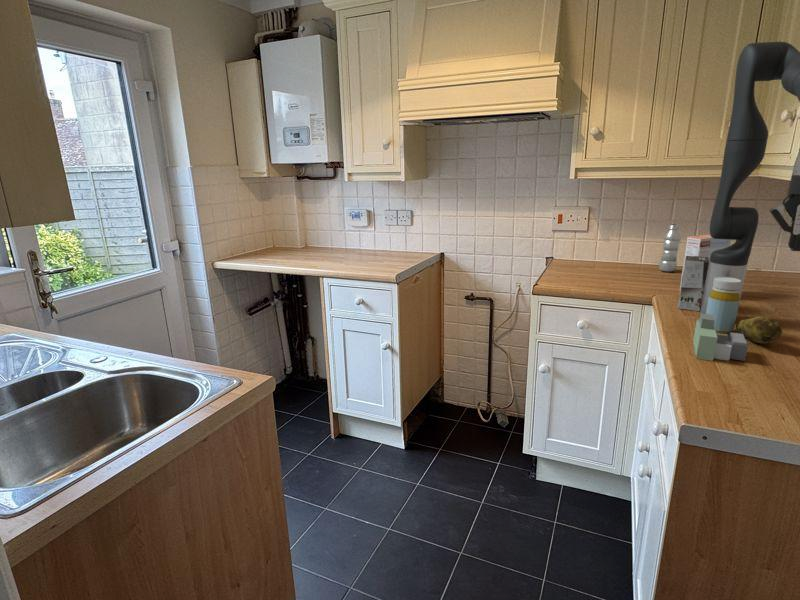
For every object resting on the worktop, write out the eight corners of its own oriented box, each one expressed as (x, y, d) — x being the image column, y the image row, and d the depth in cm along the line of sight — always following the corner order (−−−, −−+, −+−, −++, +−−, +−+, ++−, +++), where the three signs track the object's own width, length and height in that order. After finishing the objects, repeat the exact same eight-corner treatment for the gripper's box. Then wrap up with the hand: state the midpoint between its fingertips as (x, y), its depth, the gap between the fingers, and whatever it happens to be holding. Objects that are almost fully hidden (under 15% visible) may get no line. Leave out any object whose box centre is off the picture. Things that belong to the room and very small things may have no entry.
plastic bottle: (654, 270, 204) (661, 224, 199) (667, 269, 206) (674, 223, 201) (666, 273, 198) (674, 226, 193) (679, 272, 200) (687, 225, 195)
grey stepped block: (710, 345, 122) (713, 329, 121) (740, 349, 119) (743, 333, 118) (713, 356, 115) (716, 339, 114) (744, 360, 113) (748, 344, 111)
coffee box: (700, 311, 150) (709, 261, 145) (677, 308, 153) (685, 259, 148) (700, 304, 157) (709, 256, 152) (678, 301, 160) (686, 254, 156)
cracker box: (706, 289, 174) (717, 233, 168) (721, 294, 168) (733, 235, 162) (677, 293, 170) (686, 235, 164) (691, 297, 164) (702, 238, 158)
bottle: (705, 325, 137) (714, 275, 133) (733, 330, 133) (744, 278, 129) (701, 331, 132) (710, 280, 128) (731, 337, 128) (742, 284, 124)
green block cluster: (693, 340, 126) (698, 310, 124) (723, 345, 123) (730, 314, 120) (695, 358, 115) (701, 325, 113) (729, 363, 112) (736, 330, 109)
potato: (769, 337, 128) (775, 309, 126) (781, 354, 117) (788, 324, 115) (732, 332, 131) (738, 305, 129) (740, 349, 120) (747, 319, 118)
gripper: (848, 172, 104) (827, 249, 109) (773, 172, 110) (757, 245, 115) (859, 174, 98) (837, 256, 103) (779, 173, 104) (762, 251, 109)
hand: (795, 250), depth 109 cm, fingers closed
